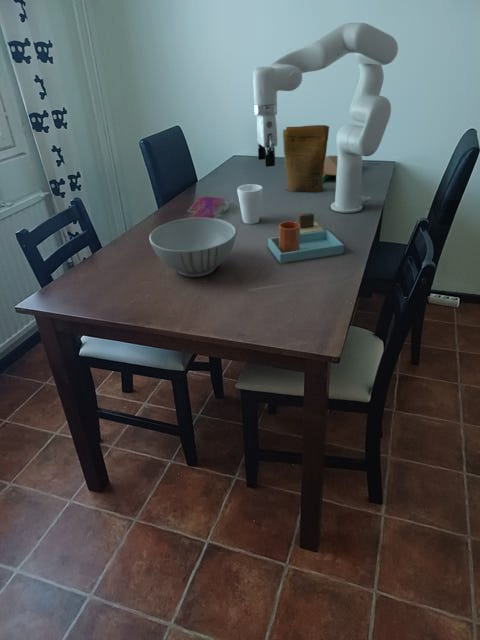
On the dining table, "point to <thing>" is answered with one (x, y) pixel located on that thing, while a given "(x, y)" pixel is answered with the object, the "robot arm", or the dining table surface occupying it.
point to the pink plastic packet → (209, 207)
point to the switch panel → (311, 229)
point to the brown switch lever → (306, 220)
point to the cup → (289, 236)
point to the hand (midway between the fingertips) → (266, 162)
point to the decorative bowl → (194, 244)
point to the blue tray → (309, 246)
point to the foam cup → (250, 202)
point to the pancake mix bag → (305, 157)
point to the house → (330, 166)
